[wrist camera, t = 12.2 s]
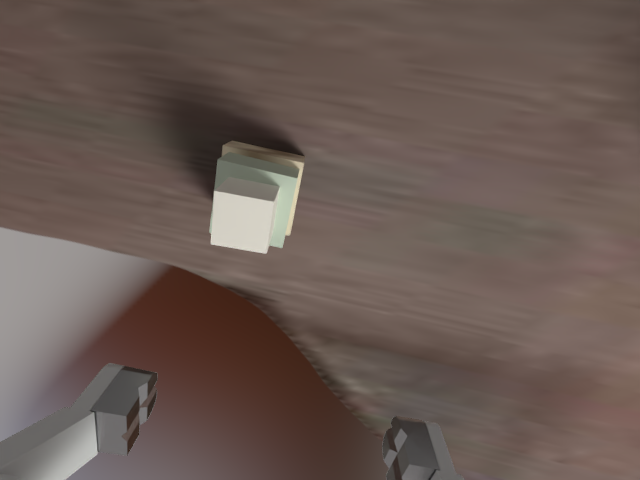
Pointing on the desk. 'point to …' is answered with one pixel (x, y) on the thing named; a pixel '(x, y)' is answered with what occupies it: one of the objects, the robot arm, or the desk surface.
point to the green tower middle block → (265, 174)
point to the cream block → (244, 214)
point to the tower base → (270, 156)
